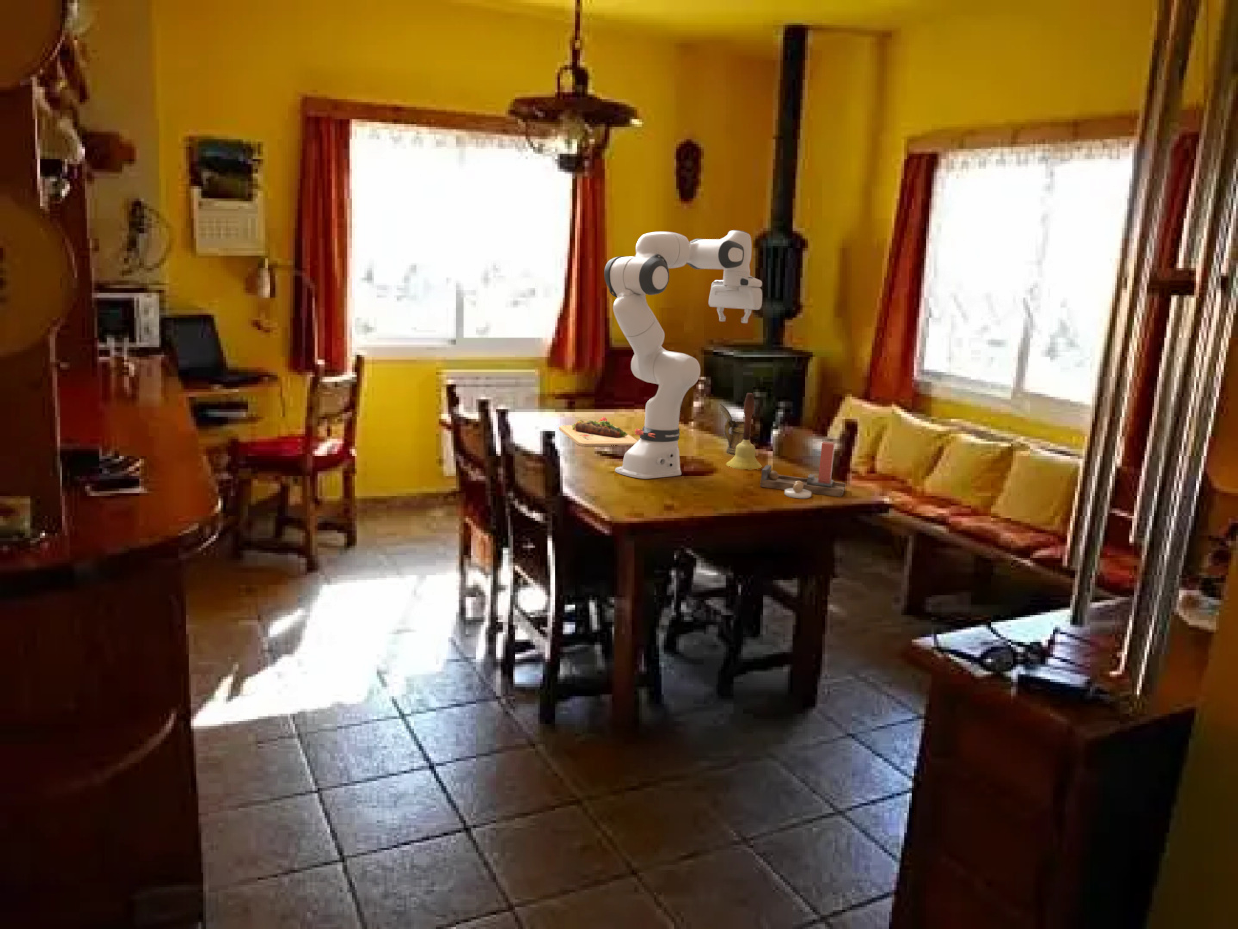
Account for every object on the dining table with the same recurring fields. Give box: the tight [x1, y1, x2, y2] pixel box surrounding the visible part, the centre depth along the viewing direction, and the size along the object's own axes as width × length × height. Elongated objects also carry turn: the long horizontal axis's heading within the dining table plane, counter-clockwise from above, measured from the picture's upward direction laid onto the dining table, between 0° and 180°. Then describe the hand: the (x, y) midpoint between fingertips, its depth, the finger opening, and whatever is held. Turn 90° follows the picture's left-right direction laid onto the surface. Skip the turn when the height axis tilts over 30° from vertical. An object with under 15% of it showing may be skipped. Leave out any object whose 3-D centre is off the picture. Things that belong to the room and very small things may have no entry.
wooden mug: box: [719, 404, 752, 455], centre depth 349 cm, size 9×14×18 cm, turn 108°
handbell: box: [725, 392, 763, 471], centre depth 328 cm, size 12×12×25 cm
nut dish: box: [784, 481, 812, 499], centre depth 292 cm, size 8×8×4 cm
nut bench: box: [759, 464, 846, 498], centre depth 301 cm, size 25×10×5 cm, turn 71°
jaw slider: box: [806, 441, 836, 488], centre depth 299 cm, size 8×7×14 cm
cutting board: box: [558, 416, 639, 448], centre depth 367 cm, size 35×23×8 cm
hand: (733, 322), depth 327 cm, fingers open, 8 cm apart
